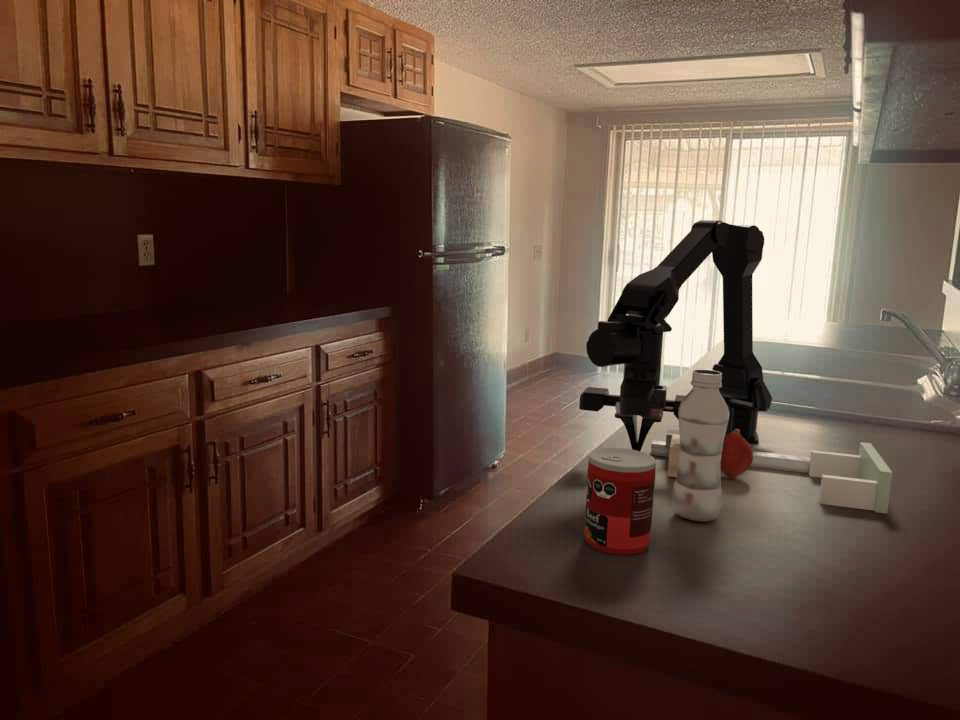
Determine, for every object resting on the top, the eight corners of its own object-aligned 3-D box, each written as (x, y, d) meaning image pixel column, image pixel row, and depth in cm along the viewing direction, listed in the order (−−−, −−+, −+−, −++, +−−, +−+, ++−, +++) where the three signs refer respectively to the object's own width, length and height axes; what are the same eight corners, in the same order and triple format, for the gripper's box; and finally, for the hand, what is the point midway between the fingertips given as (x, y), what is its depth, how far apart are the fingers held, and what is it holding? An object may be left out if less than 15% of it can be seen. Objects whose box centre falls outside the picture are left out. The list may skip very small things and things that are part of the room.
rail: (651, 450, 127) (652, 439, 127) (846, 473, 118) (847, 461, 118) (650, 454, 125) (651, 443, 125) (848, 478, 116) (850, 466, 116)
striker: (666, 451, 126) (668, 425, 126) (696, 454, 125) (698, 428, 124) (661, 475, 114) (663, 446, 113) (694, 479, 112) (696, 450, 111)
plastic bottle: (695, 530, 94) (708, 378, 90) (659, 512, 100) (670, 369, 96) (731, 522, 97) (745, 375, 93) (694, 505, 103) (706, 366, 99)
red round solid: (708, 479, 113) (712, 430, 112) (715, 469, 118) (719, 422, 117) (747, 486, 111) (752, 436, 109) (753, 476, 116) (757, 427, 114)
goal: (807, 472, 118) (812, 437, 117) (866, 479, 115) (870, 443, 114) (820, 505, 104) (825, 465, 103) (887, 513, 101) (892, 472, 100)
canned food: (580, 528, 93) (585, 446, 91) (643, 531, 93) (649, 448, 91) (587, 555, 86) (592, 465, 84) (655, 557, 86) (662, 468, 84)
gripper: (575, 364, 111) (570, 462, 114) (702, 375, 105) (694, 477, 108) (587, 353, 121) (582, 443, 124) (704, 362, 116) (696, 456, 119)
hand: (636, 454), depth 119 cm, fingers closed
